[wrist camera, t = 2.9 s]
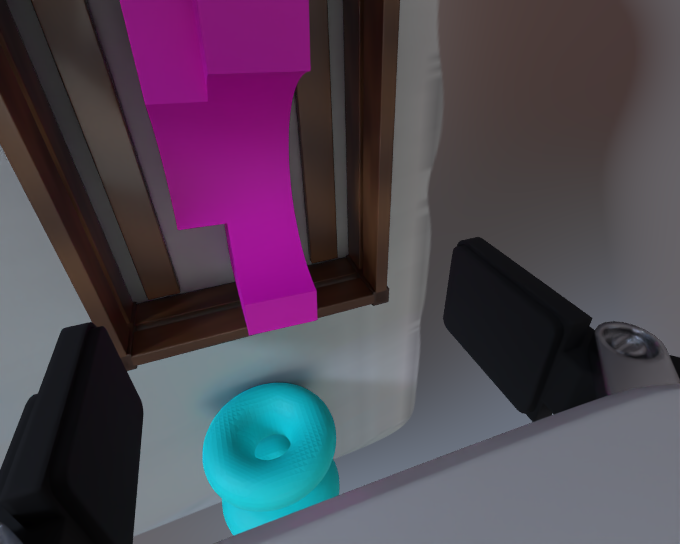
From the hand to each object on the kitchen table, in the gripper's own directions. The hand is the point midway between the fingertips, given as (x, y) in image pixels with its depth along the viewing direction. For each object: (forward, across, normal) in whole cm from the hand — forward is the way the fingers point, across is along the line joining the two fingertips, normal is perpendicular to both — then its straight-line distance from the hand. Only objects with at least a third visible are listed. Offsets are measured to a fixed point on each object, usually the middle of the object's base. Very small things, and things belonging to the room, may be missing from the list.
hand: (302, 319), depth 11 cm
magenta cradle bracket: (+16, +1, 0) cm, 16 cm away
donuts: (+16, +2, +24) cm, 28 cm away
